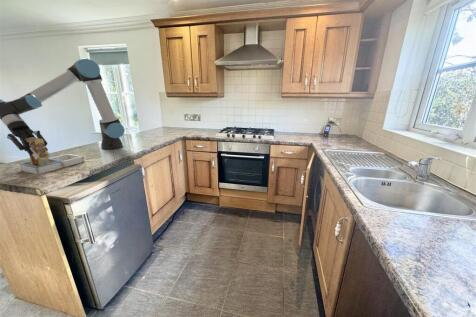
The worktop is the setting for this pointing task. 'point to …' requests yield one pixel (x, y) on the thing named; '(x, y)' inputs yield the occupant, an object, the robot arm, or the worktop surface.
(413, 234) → the worktop surface
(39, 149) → the candy box
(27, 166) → the organizer
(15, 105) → the robot arm
